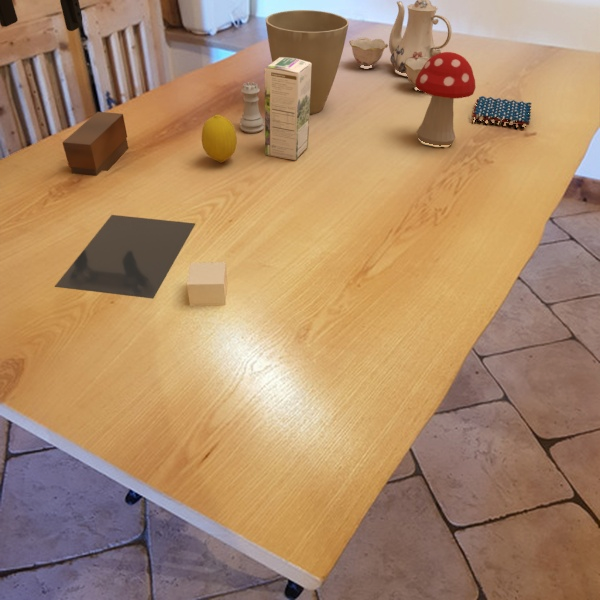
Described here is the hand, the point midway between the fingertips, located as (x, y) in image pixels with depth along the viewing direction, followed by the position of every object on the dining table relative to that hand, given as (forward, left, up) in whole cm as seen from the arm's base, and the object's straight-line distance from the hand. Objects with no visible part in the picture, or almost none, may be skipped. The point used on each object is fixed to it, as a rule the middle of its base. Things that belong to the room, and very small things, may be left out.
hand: (42, 26), depth 76 cm
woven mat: (+71, +33, -20) cm, 81 cm away
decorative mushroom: (+58, +19, -20) cm, 64 cm away
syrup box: (+33, +10, -20) cm, 40 cm away
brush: (+4, 0, -20) cm, 21 cm away
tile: (+19, -24, -20) cm, 37 cm away
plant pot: (+33, +30, -20) cm, 49 cm away
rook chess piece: (+25, +18, -20) cm, 37 cm away
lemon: (+23, +4, -20) cm, 31 cm away
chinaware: (+52, +54, -20) cm, 78 cm away
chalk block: (+31, -30, -20) cm, 48 cm away
